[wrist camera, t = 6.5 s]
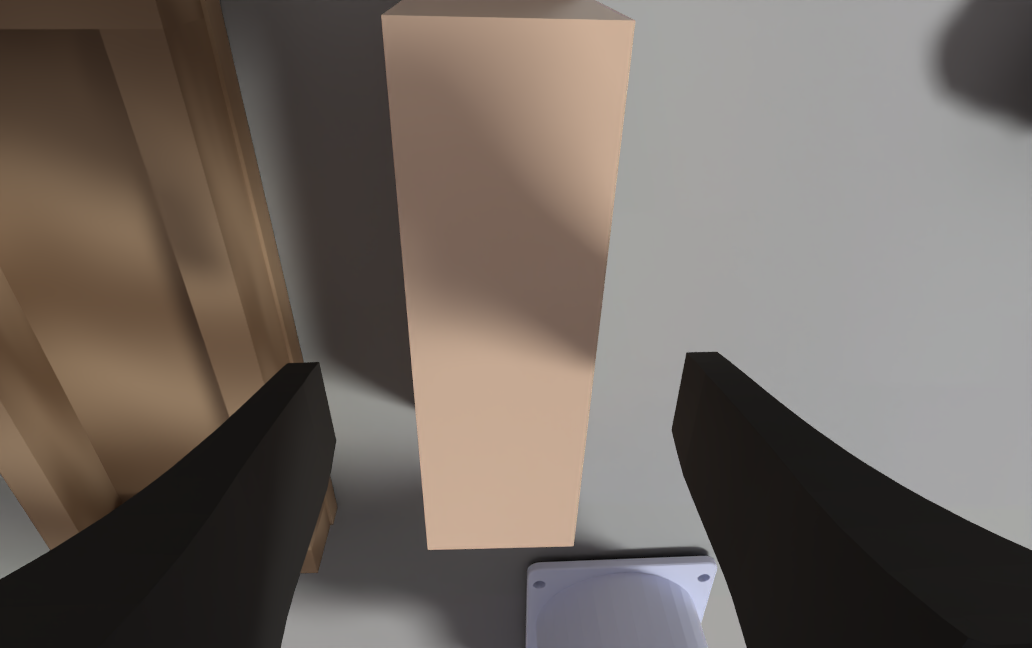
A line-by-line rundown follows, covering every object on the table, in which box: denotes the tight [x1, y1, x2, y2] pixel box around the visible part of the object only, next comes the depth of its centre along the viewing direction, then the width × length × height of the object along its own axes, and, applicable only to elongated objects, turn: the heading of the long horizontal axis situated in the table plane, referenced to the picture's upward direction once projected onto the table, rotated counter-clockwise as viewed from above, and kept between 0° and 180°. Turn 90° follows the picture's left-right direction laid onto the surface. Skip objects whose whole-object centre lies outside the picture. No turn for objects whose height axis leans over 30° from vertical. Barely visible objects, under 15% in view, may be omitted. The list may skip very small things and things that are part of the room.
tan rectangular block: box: [381, 0, 635, 550], centre depth 15 cm, size 13×4×6 cm, turn 179°
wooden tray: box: [0, 0, 338, 573], centre depth 17 cm, size 18×8×3 cm, turn 0°
